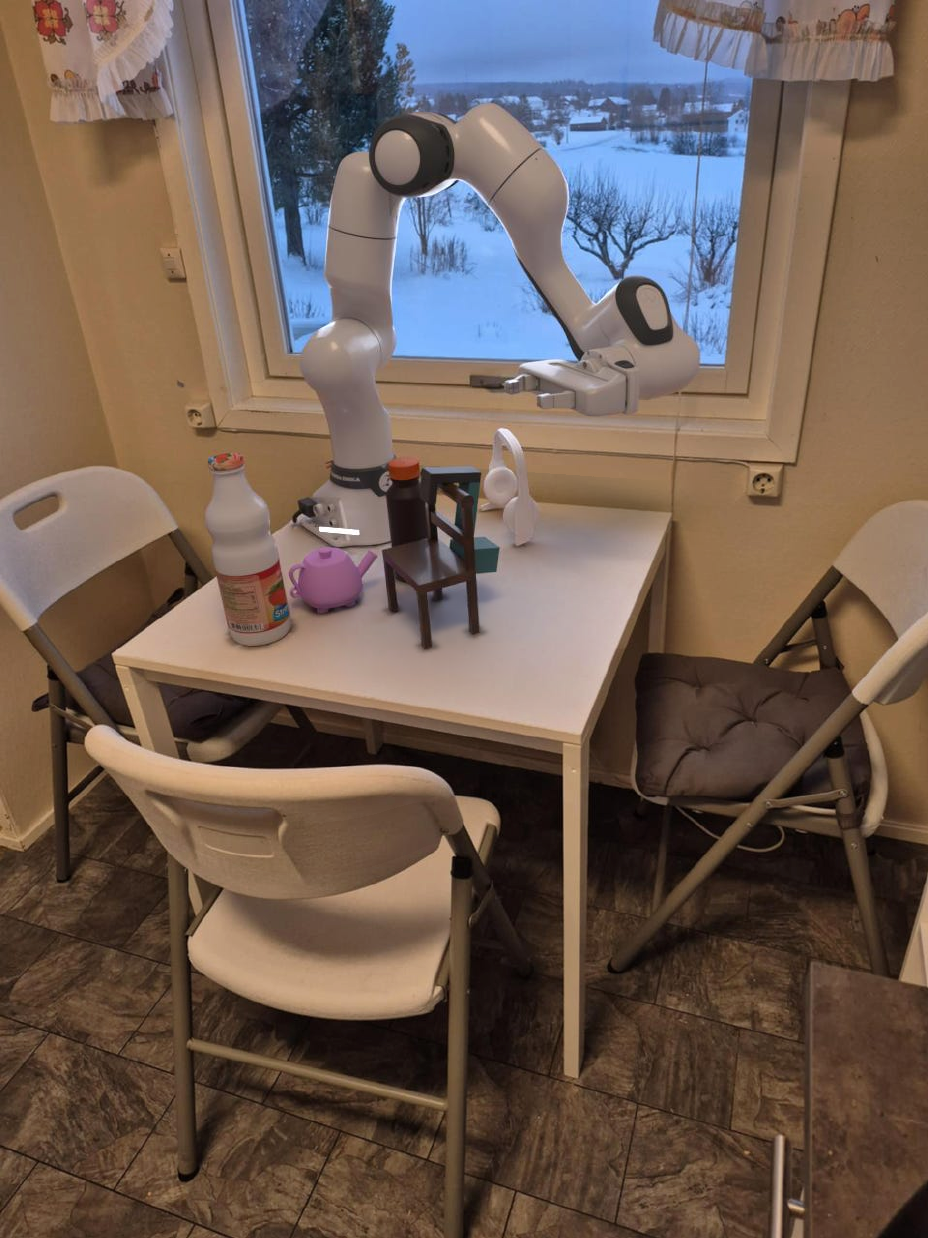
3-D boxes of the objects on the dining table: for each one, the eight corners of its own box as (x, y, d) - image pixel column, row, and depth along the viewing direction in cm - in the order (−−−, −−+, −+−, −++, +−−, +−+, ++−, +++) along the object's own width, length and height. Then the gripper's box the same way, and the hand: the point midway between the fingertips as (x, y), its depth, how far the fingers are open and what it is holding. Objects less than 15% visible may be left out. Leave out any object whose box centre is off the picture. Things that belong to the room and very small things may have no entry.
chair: (442, 594, 139) (431, 465, 128) (482, 631, 128) (474, 493, 117) (388, 609, 136) (373, 478, 125) (425, 649, 124) (411, 508, 114)
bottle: (417, 561, 150) (406, 452, 140) (442, 573, 146) (433, 460, 136) (386, 575, 146) (373, 463, 136) (412, 587, 142) (400, 472, 132)
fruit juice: (227, 624, 135) (187, 453, 121) (286, 611, 137) (254, 442, 123) (234, 653, 127) (192, 474, 113) (297, 639, 129) (264, 461, 115)
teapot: (285, 597, 141) (276, 545, 137) (372, 576, 146) (366, 526, 141) (300, 624, 133) (290, 571, 128) (391, 602, 138) (385, 549, 133)
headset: (543, 544, 153) (542, 448, 144) (505, 550, 152) (501, 453, 143) (514, 504, 170) (512, 416, 161) (480, 509, 169) (475, 420, 160)
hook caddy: (481, 560, 134) (494, 463, 127) (496, 572, 130) (509, 473, 124) (410, 566, 128) (419, 465, 122) (423, 578, 125) (433, 475, 118)
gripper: (565, 345, 134) (487, 359, 129) (645, 370, 117) (560, 387, 112) (565, 385, 137) (489, 400, 132) (643, 415, 121) (560, 434, 116)
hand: (522, 395), depth 122 cm, fingers open, 8 cm apart
